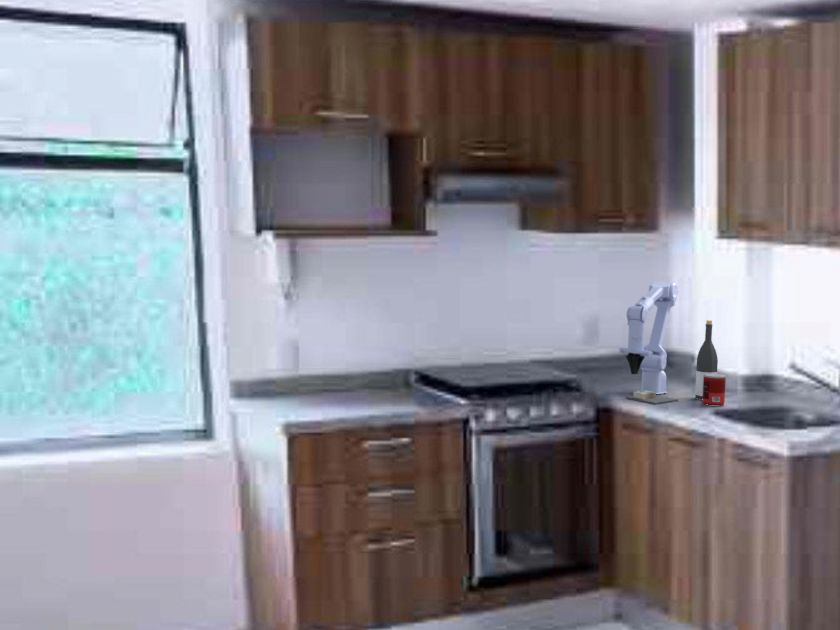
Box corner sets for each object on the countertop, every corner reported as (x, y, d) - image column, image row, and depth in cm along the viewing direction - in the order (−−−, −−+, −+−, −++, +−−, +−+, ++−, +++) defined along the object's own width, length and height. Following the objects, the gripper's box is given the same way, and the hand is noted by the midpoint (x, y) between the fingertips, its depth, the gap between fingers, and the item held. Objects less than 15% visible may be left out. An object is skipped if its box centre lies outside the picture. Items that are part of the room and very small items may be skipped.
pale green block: (655, 397, 384) (645, 395, 388) (656, 392, 383) (645, 390, 387) (643, 399, 379) (633, 397, 383) (643, 393, 379) (633, 391, 383)
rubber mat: (649, 395, 392) (649, 393, 392) (678, 401, 381) (678, 399, 381) (626, 398, 384) (626, 396, 384) (655, 404, 373) (655, 402, 373)
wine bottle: (691, 398, 386) (695, 320, 383) (698, 396, 393) (702, 318, 390) (711, 401, 382) (716, 322, 379) (719, 398, 388) (723, 320, 385)
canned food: (728, 404, 376) (730, 375, 375) (716, 407, 370) (717, 377, 369) (710, 401, 381) (711, 372, 380) (698, 403, 376) (699, 374, 375)
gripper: (614, 336, 385) (612, 372, 386) (644, 340, 373) (642, 377, 375) (626, 335, 389) (624, 370, 390) (656, 339, 378) (655, 375, 379)
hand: (634, 373), depth 383 cm, fingers closed
